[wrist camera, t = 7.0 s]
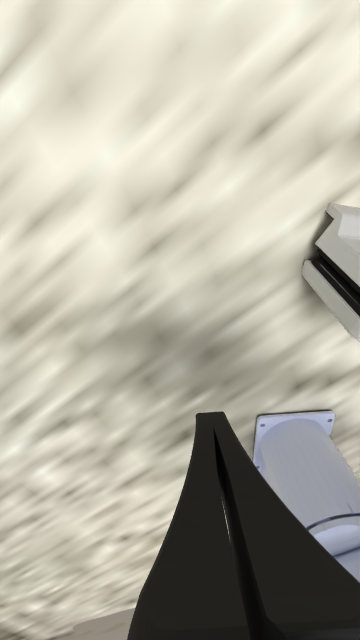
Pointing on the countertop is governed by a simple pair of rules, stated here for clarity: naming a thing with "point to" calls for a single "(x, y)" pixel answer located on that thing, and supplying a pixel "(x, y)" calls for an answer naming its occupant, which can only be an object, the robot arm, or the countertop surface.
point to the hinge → (339, 267)
